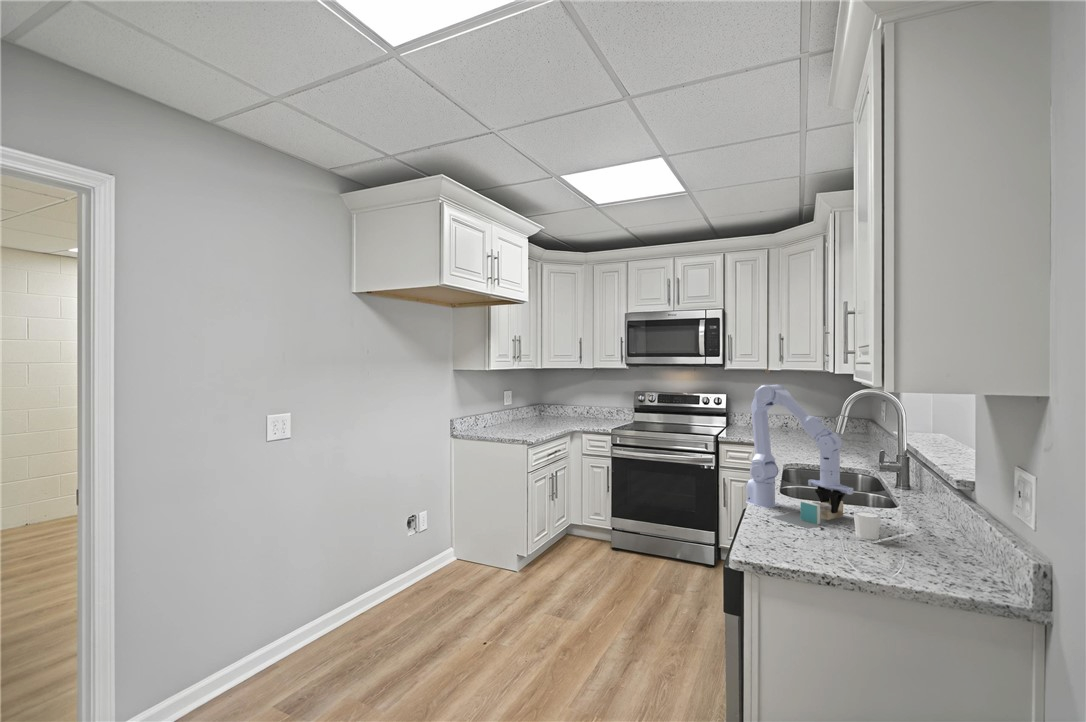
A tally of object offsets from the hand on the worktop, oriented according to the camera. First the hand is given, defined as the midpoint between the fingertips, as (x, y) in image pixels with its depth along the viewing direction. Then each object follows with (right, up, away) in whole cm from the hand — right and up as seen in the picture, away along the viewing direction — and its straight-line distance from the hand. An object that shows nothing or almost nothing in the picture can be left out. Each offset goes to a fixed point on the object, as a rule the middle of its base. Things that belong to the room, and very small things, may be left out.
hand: (830, 511), depth 172 cm
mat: (-5, -3, 0) cm, 6 cm away
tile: (-9, -2, -4) cm, 10 cm away
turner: (-1, -2, 0) cm, 2 cm away
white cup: (+1, -3, -19) cm, 19 cm away
